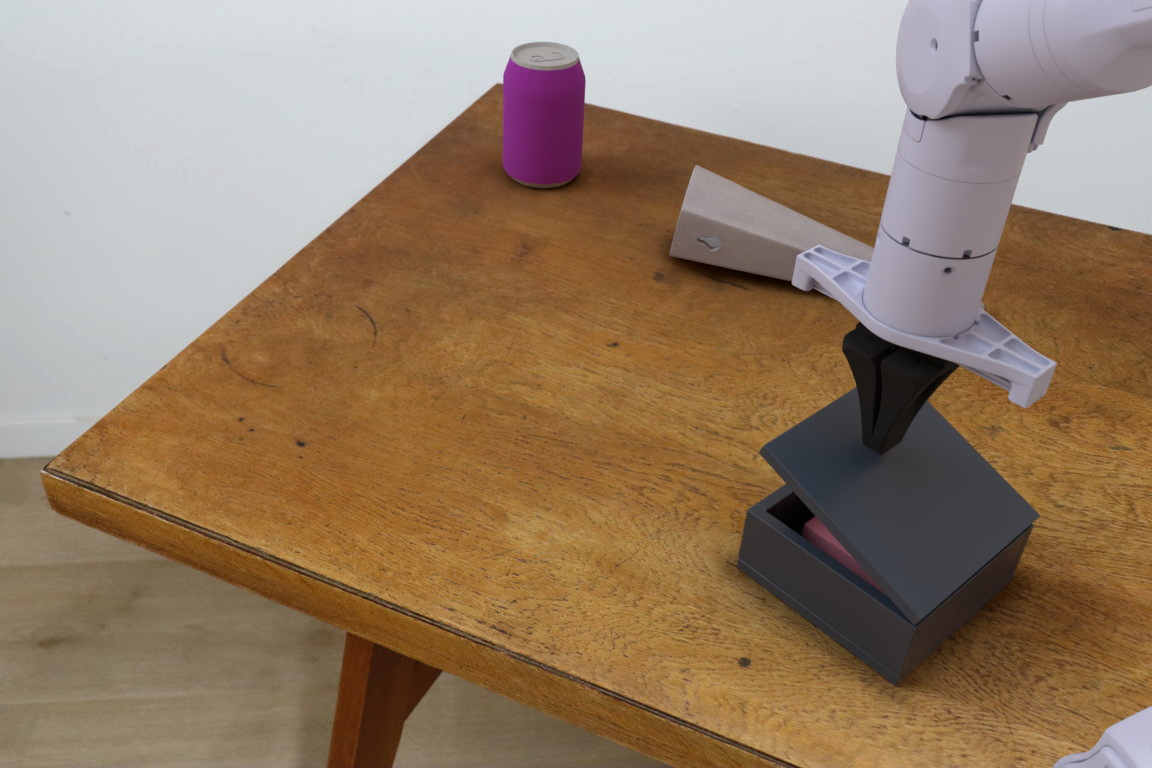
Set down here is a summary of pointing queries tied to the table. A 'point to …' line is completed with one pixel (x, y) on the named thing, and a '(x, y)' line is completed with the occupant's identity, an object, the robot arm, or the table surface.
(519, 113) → the beverage can
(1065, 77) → the robot arm
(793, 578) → the box
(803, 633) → the table surface
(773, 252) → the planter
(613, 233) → the table surface
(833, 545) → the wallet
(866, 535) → the lid
